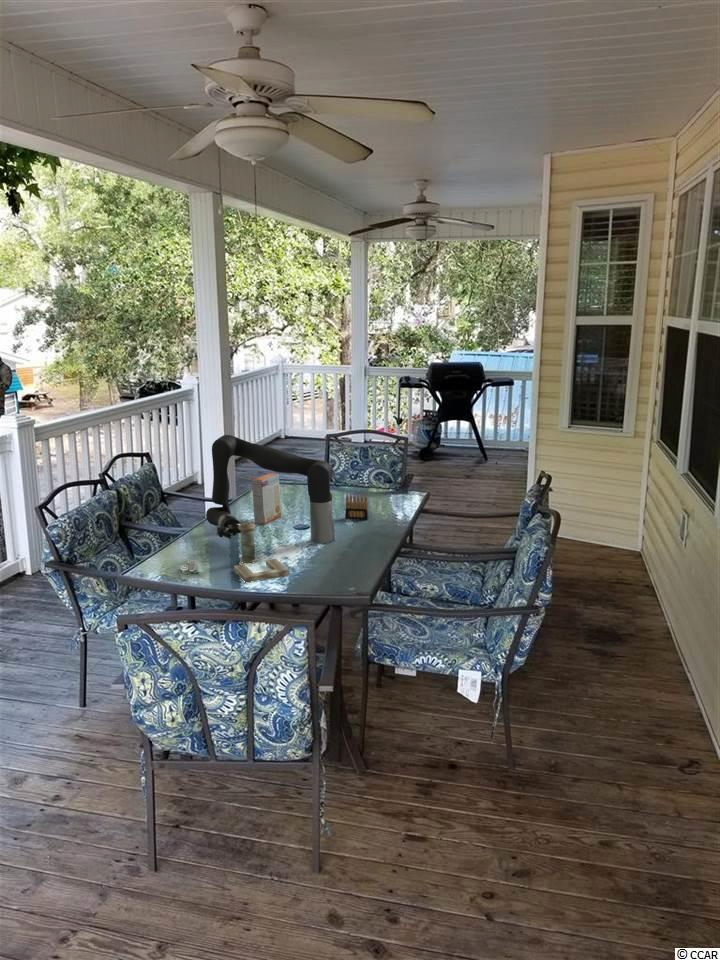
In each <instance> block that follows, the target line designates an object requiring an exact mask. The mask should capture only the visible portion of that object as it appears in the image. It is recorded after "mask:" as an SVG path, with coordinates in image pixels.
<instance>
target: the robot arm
mask: <svg viewBox="0 0 720 960" xmlns="http://www.w3.org/2000/svg"><path fill="white" fill-rule="evenodd" d="M211 455H212V456H211V457H212V472H213V473H212V474H213V479H212V480H213V482H212V494H211V501H212V503H213V504H215V505H219V506H213V507H209V508H208V509H207V510H206V513H205V519H206V521H207V522H208V523H209V524H210V525H211V526H215V527H216V526H217V527H216V534H217V535H218V536H219V538H223V537H225V538H226V539H228V540H230V539H232V537H234V536H236V535H239V534H241V531H240V530H239V529H238V526H239V525H242V524H241V522H240V520H239V519H237V518H236V517H235V516H234V515H232V513H231V507H230V502H229V499H230V497H229V496H230V480H229V477H228V476H229V475H228V468H229V467H228V466H229V462H230V458H232V457H234V456H236V457H240V458H244V459H247V460H249V461H251V462H253V464H255V465H257V466H259V467H260V468H262V469H265V470H268V471H272V472H275V473H278V474H279V473H281V474H297V475H303V476H305V477H307V479H306V482H307V493H308V498H309V508H310V509H309V518H310V521H309V522H310V542H312V543H316V544H327V543H332V542H333V541H336V536H335V535H336V534H335V533H336V531H335V530H336V529H335V527H336V526H335V523H336V522H335V518H334V517H333V494H332V493H331V489H330V488H331V487H330V486H331V485H330V480H331V479H332V478H333V476H334V468H333V466H332V465H331V464H330V463H329V462H328V461H325V460H320V459H314V458H308V457H303V456H300V455H297V454H294V453H291V452H287V451H284V450H281V449H278V448H273V447H270V446H265V445H262V444H257V443H254V442H250V441H247V440H245V439H242V438H240V437H236V436H234V435H232V434H224V435H221V436H219V438H217V439H215V440H214V442H213V443H212V445H211ZM246 524H251V522H247V523H246Z"/></svg>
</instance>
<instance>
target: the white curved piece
mask: <svg viewBox="0 0 720 960" xmlns="http://www.w3.org/2000/svg"><path fill="white" fill-rule="evenodd" d="M183 567H186V568H183ZM197 567H198V563H197V562H196V560H194V559H190V560H187V562H186V564H181V565H180V566H179V567H178V568H179V569H180V568H182V569H187V568H188V569H189V570H194V569H195V571H196V570H198V569H197ZM189 570H188V571H189Z"/></svg>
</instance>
